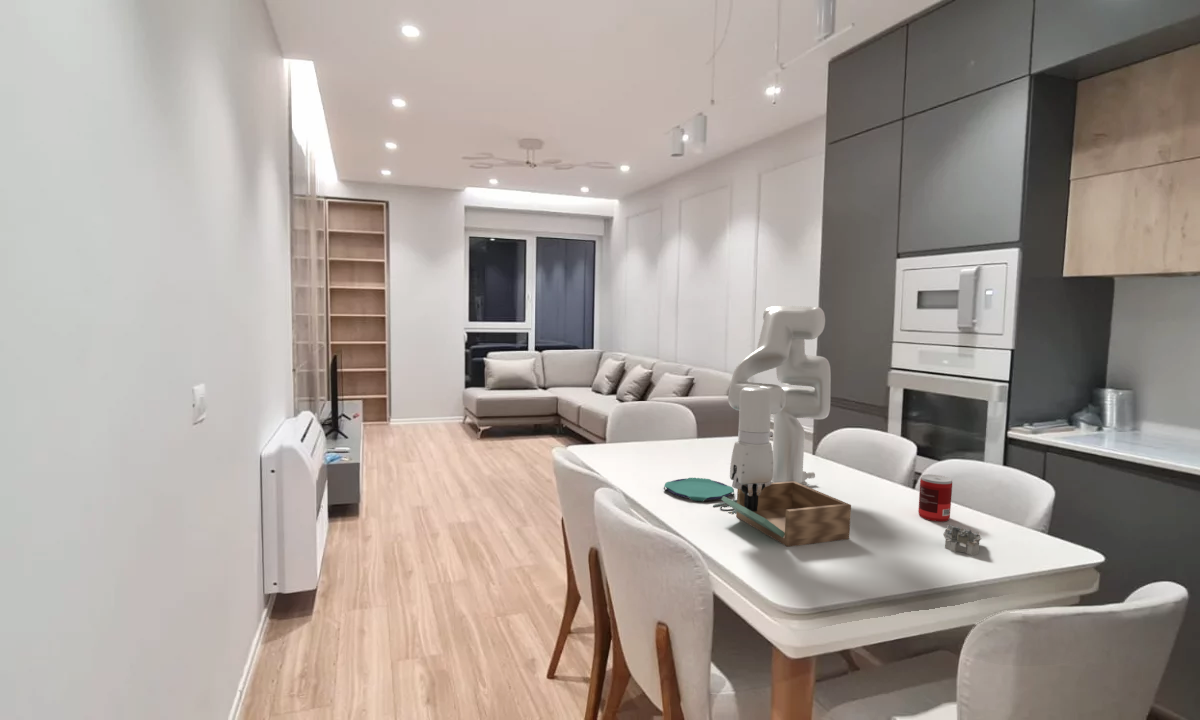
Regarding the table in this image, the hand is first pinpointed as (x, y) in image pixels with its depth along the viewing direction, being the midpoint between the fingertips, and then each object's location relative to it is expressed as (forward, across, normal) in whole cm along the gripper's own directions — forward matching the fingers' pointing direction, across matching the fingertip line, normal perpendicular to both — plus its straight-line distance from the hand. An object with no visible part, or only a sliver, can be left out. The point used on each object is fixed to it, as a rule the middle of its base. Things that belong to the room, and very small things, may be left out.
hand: (750, 509), depth 153 cm
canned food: (+6, -56, +5) cm, 56 cm away
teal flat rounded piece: (+7, -6, -29) cm, 30 cm away
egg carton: (+6, -44, +23) cm, 50 cm away
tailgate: (+4, -3, 0) cm, 5 cm away
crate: (+6, -12, 0) cm, 13 cm away
